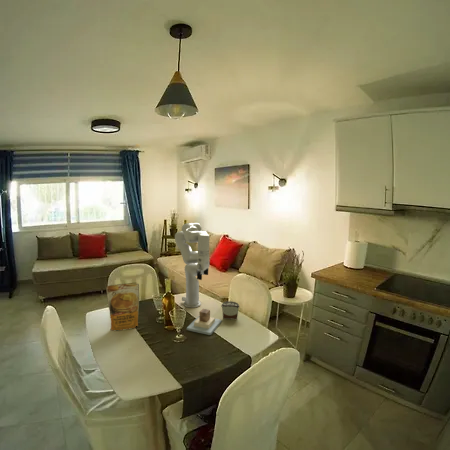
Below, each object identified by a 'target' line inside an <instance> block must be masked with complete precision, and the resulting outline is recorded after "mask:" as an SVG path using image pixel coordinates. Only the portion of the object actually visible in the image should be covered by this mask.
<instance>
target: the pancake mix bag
mask: <svg viewBox="0 0 450 450" xmlns="http://www.w3.org/2000/svg"><path fill="white" fill-rule="evenodd" d="M105 290H106V291H105V292H106V296H107V304H108V310H109V318H110V331H114V330H119V331H123V329H126V330H130V329H129V328H132V329H135V328H137V327H139V321H138V320H139V308H140V307H139V306H140V285H139V283H137V282H128V283H127V282H126V283H118V284H112V285H108V286H106V287H105ZM136 326H137V327H136Z"/></svg>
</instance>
